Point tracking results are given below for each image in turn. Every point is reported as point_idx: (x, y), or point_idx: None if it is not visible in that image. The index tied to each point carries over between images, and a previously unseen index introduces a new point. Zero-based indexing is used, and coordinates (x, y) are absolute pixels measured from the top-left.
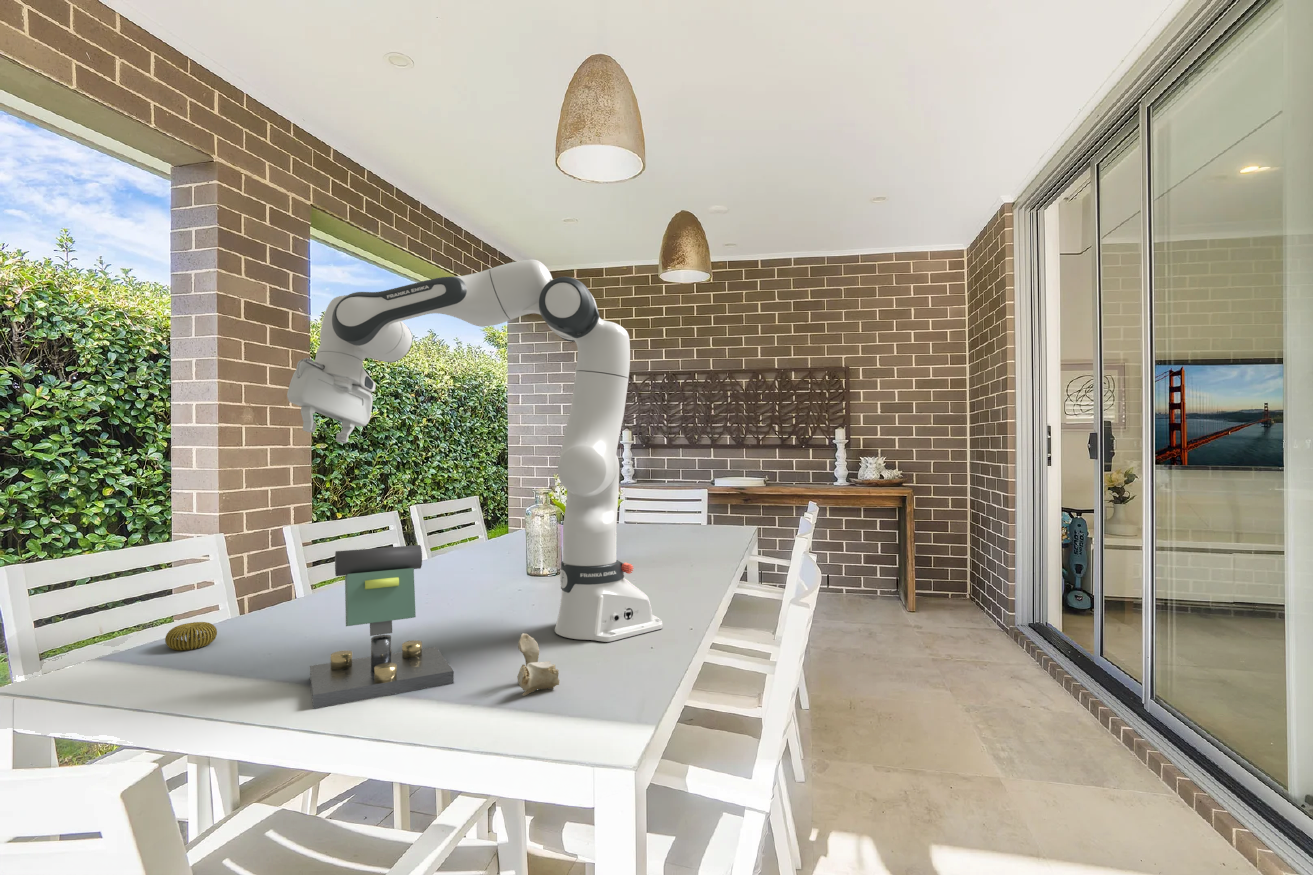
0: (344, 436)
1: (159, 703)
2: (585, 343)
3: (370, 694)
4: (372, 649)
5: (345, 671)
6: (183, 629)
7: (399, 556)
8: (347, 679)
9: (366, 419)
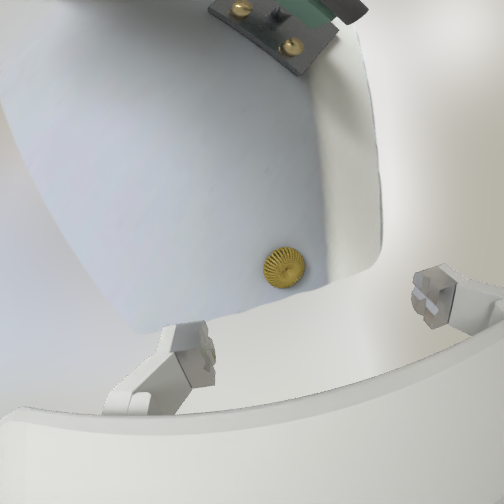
0: (193, 336)
1: (367, 142)
2: None
3: None
4: None
5: (298, 36)
6: (299, 264)
7: None
8: None
9: (6, 434)
